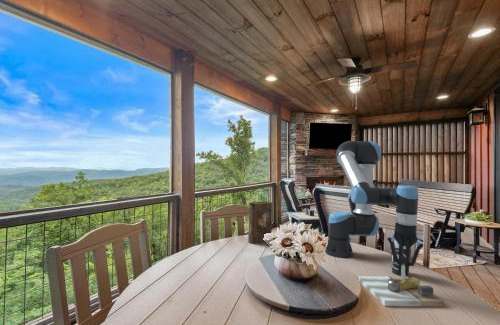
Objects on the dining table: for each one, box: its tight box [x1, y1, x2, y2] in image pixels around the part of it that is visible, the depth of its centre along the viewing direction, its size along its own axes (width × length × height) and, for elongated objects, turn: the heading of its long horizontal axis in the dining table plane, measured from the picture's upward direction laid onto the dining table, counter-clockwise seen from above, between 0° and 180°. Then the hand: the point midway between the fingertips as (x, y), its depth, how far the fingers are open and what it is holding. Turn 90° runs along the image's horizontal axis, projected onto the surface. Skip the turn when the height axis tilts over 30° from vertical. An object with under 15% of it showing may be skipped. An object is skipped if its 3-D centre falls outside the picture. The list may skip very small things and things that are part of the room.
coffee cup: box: [388, 238, 413, 277], centre depth 122 cm, size 10×10×15 cm
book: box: [247, 200, 273, 245], centre depth 167 cm, size 16×6×25 cm, turn 130°
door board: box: [358, 275, 445, 307], centre depth 103 cm, size 20×22×5 cm
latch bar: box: [388, 276, 421, 292], centre depth 102 cm, size 14×4×3 cm, turn 111°
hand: (403, 280), depth 106 cm, fingers closed
